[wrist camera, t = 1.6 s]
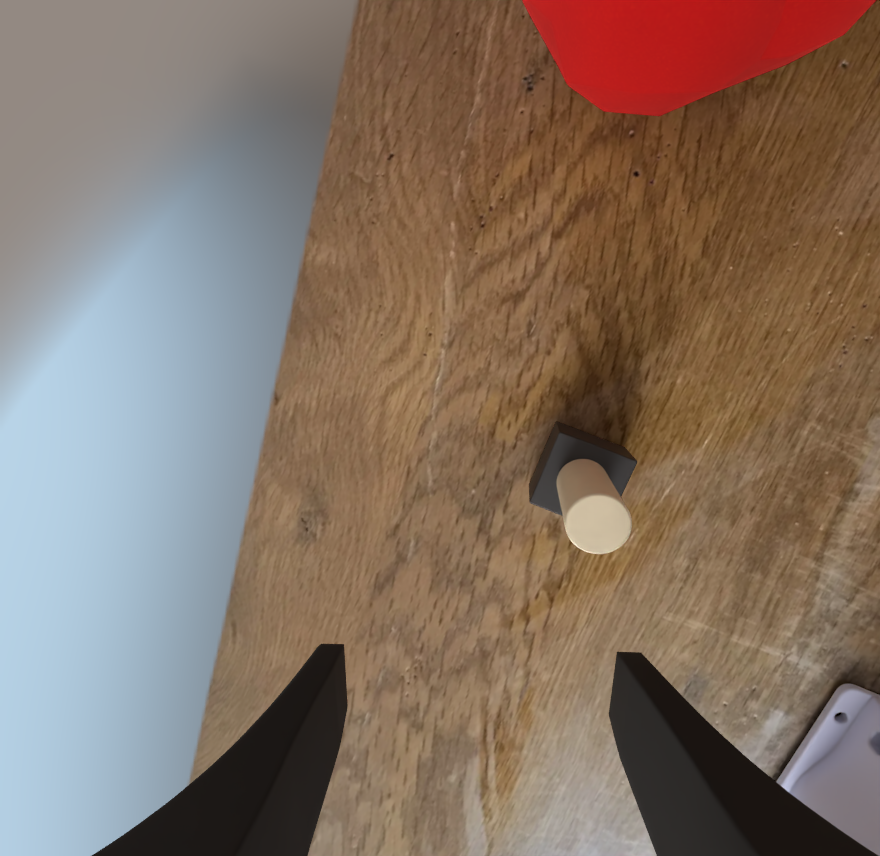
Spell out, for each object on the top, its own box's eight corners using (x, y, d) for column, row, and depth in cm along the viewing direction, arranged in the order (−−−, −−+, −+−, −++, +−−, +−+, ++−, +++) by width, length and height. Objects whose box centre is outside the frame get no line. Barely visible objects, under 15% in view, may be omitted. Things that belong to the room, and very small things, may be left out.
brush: (555, 420, 22) (569, 458, 15) (625, 447, 21) (671, 498, 15) (528, 485, 22) (529, 549, 16) (595, 511, 22) (626, 588, 15)
